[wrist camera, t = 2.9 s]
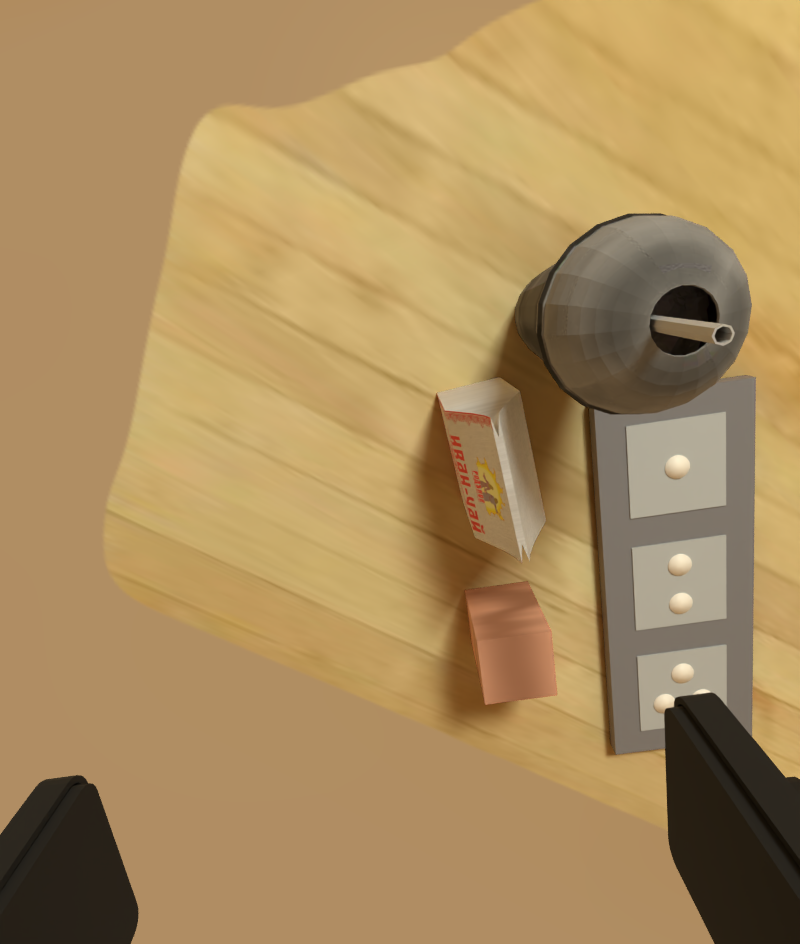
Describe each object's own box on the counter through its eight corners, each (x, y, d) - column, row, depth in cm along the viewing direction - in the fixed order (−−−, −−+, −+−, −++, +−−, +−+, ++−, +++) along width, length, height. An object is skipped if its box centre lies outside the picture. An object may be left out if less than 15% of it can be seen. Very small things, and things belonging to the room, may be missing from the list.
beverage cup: (624, 368, 34) (924, 451, 15) (498, 389, 34) (628, 498, 15) (616, 233, 32) (948, 124, 13) (481, 256, 32) (607, 184, 13)
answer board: (745, 375, 34) (757, 377, 33) (743, 726, 40) (753, 739, 39) (588, 398, 34) (594, 401, 33) (610, 744, 41) (616, 756, 40)
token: (527, 581, 38) (551, 631, 32) (533, 636, 39) (557, 695, 33) (464, 589, 38) (476, 641, 32) (471, 645, 39) (485, 704, 33)
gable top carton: (499, 376, 34) (539, 404, 24) (522, 486, 36) (568, 552, 26) (436, 392, 34) (452, 427, 25) (462, 500, 36) (486, 572, 26)
